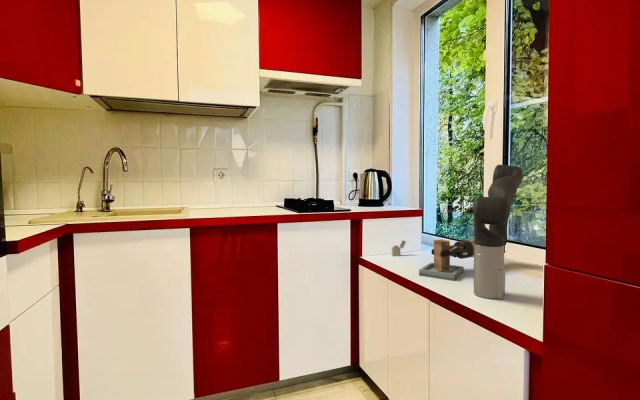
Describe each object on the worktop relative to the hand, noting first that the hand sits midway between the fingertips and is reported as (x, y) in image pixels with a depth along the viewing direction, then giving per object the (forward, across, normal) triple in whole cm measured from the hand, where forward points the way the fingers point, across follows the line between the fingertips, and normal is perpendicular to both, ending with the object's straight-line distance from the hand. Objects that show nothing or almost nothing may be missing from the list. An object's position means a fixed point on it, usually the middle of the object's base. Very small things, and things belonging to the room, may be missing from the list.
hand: (436, 253), depth 142 cm
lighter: (-8, -37, +9) cm, 39 cm away
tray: (-3, 0, +9) cm, 9 cm away
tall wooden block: (-3, 0, +7) cm, 8 cm away
